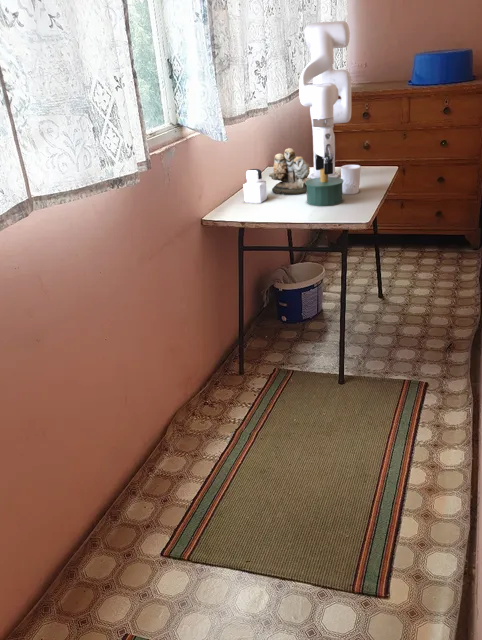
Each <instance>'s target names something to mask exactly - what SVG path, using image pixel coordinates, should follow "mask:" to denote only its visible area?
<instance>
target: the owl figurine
mask: <svg viewBox="0 0 482 640" xmlns="http://www.w3.org/2000/svg"><path fill="white" fill-rule="evenodd" d="M273 162H274V163H273V167H272V171H273V172H271V173H268V177H269V178H271V180H273V181H279V182H278V183H276V184H275V185H273V187H272V188H271V191H272V193H273V194H276V195H284V196H295V195H297V196H298V195H305V194H307V185H306V184H305V182H306V181H307V180H310V179H311V178H310V177H309V176H310V171H311V169H310V164H309V163H308V162H306V160H305V158H304V156H298V155H296V151H295V150H294V149H293V148H290V147H288V148H286V149H285V150H284V152H283V154H282V153H277V154H275V155H274V159H273Z"/></svg>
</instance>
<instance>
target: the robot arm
mask: <svg viewBox="0 0 482 640" xmlns="http://www.w3.org/2000/svg"><path fill="white" fill-rule="evenodd" d="M350 34H351V32H350V27H349V24H348V22H347V20H346V21H345V20H338V21H337V20H335V21H321V22H313V23H312V22H311V23H309V24H308V25H306V26H305V27H304V41H305V44H306V47H307V50H308V52H309V55H310V61H309V62H308V63H307V64H306V65H305V66H304V68H303V69H302V71H301V73H300V77H299V102H300V104H301V105H302V106H303V107H306V108H309V116H310V122H311V129H312V153H313V154H312V155H313V172H312V173H311V174H309V176H310V177H309V178H310V179H314V178H320V169H324V174H325V175H327V174H328V177H336V178H339V172H337V171H336V136H335V133H334V127H335V126H334V125H337V124H346V123H349V122H350V121H351V118H352V77H351V74H350V72H349V71H348V70H347V69H334V62H335V61H334V60H335V59H334V57H335V56H334V49H343V48H347V47H348V46H349V43H350V38H351V35H350ZM311 80H312V83H310V84H308V83H309V82H310V81H311ZM339 97H340V98H339Z"/></svg>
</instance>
